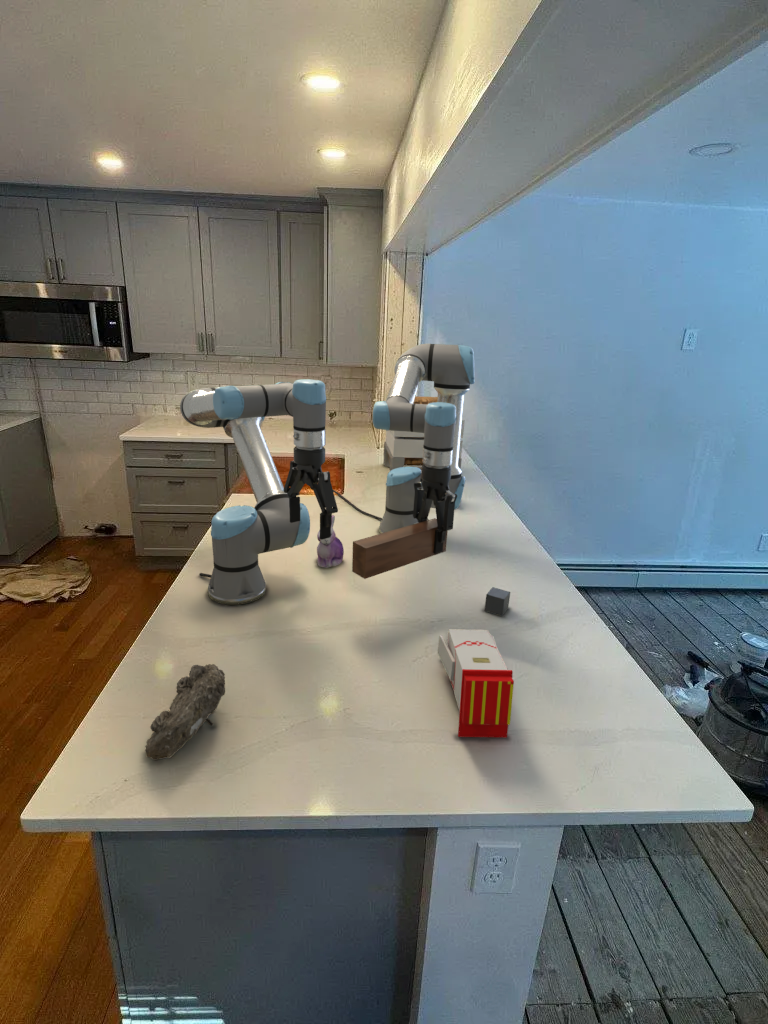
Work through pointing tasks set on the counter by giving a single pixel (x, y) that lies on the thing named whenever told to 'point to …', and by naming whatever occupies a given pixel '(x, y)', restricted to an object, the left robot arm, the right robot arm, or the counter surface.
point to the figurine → (329, 549)
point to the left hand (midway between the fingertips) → (309, 529)
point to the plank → (394, 548)
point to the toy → (478, 682)
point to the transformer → (409, 444)
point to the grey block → (497, 601)
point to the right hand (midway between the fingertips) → (430, 548)
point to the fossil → (186, 710)
